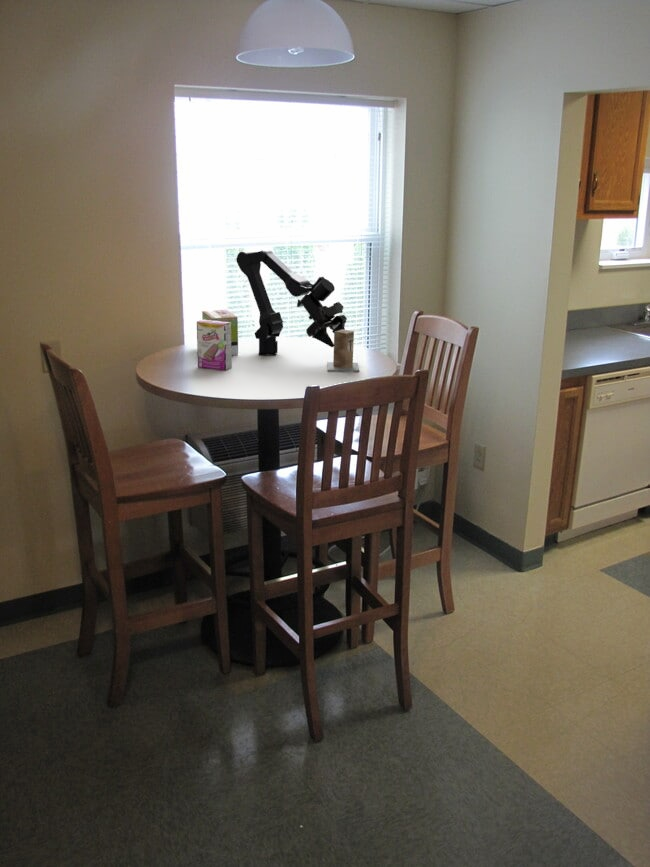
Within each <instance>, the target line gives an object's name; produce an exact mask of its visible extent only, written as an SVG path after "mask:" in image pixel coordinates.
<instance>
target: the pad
mask: <svg viewBox="0 0 650 867" xmlns="http://www.w3.org/2000/svg"><path fill="white" fill-rule="evenodd" d="M327 372H337V373H338V372H341V373H343V372H344V373H345V372H346V373H359V372H360V367H359V362H353V366H351V367H348V368H346V369H344V368H339V367H334V366H333V361H332V362H331V361H327Z"/></svg>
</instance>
